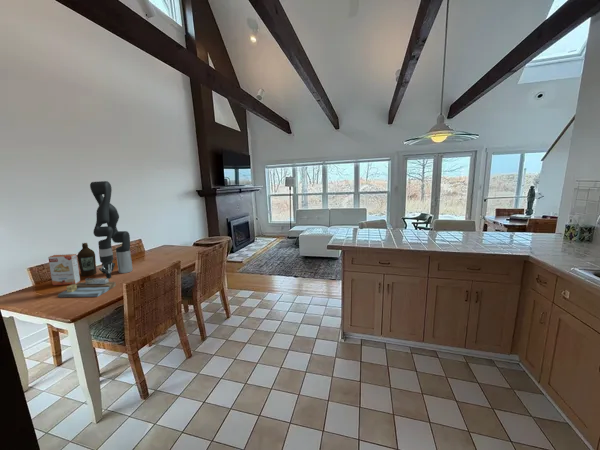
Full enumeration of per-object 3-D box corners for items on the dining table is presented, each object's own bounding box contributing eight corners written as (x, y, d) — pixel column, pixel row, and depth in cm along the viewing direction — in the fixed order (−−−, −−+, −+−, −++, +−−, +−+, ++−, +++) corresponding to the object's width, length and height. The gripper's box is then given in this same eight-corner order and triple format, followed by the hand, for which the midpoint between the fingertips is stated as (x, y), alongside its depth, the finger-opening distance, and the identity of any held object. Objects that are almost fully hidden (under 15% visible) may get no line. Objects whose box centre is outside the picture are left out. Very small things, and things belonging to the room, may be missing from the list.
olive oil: (79, 273, 200) (75, 243, 196) (96, 270, 207) (92, 241, 203) (80, 277, 192) (76, 245, 188) (98, 274, 200) (94, 243, 196)
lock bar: (84, 284, 171) (84, 279, 170) (88, 282, 174) (87, 277, 173) (105, 284, 172) (105, 278, 171) (108, 282, 175) (108, 277, 174)
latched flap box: (80, 286, 176) (79, 278, 175) (115, 285, 177) (115, 278, 176) (58, 297, 159) (57, 289, 158) (97, 296, 160) (96, 288, 159)
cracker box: (52, 285, 177) (47, 256, 173) (58, 282, 183) (54, 254, 179) (75, 284, 179) (70, 255, 176) (80, 281, 185) (76, 253, 182)
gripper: (107, 252, 184) (110, 275, 186) (93, 257, 171) (96, 281, 173) (117, 252, 184) (120, 274, 187) (104, 257, 171) (107, 281, 174)
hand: (108, 278), depth 180 cm, fingers closed
